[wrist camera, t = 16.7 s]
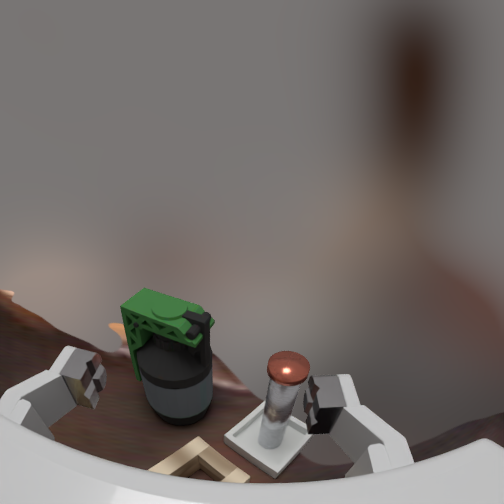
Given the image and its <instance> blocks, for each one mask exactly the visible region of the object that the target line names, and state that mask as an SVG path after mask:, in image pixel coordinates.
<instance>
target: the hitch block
mask: <svg viewBox="0 0 504 504" xmlns="http://www.w3.org/2000/svg"><path fill="white" fill-rule="evenodd" d="M198 469H202V470H203V471H204V472H205V473H206V474H207V475H209V476H210V477H211V478H212V479H214V480H215V481H219V482H232V483H249V481H250V476H249V475H247V474H246V473H244V472H243V471H242V470H240V469H239V468H238V467H236V466H235V465H234V464H232V463H231V462H230V461H228V460H227V459H226V458H224V457H223V456H222V455H221V454H219V453H218V452H217V451H216V450H214V449H213V448H212V447H211V446H209V445H208V444H207V443H206V442H205V441H203V440H202V439H201V438H200V437H199V436H198V437H197V438H195V439H194V440H192V441H191V442H189V443H188V444H187V445H185V446H184V447H182V448H181V449H179V450H178V451H176V452H175V453H173V454H172V455H170V456H169V457H167V458H166V459H164V460H163V461H161V462H160V463H158V464H157V465H155V466H153V467H152V468H150V469H149V470H147V471H151V472H156V473H161V474H166V475H172V476H178V477H185V478H187V477H189V476H190V475H192V474H193V473H194V472H196V471H197V470H198Z"/></svg>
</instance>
